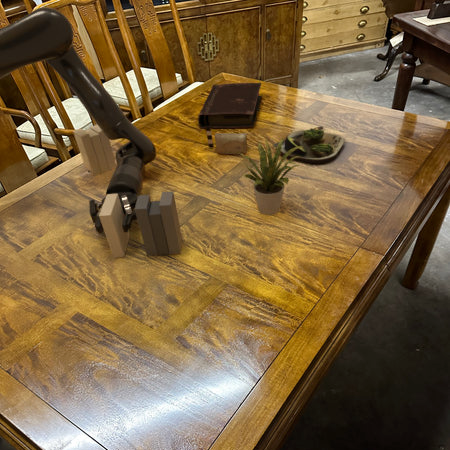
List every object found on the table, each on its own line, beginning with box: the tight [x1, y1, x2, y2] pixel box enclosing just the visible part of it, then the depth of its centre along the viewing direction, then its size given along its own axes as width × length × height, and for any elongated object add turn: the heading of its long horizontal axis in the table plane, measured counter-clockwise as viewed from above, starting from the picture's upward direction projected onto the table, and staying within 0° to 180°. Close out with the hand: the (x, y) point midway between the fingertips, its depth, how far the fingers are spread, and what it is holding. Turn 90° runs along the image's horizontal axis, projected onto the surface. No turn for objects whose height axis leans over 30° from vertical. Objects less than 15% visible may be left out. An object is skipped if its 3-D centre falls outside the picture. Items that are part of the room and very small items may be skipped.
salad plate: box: [272, 125, 345, 165], centre depth 118 cm, size 19×18×5 cm
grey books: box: [134, 190, 183, 257], centre depth 88 cm, size 5×7×12 cm
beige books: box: [72, 124, 117, 177], centre depth 116 cm, size 5×7×12 cm
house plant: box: [237, 137, 303, 216], centre depth 94 cm, size 14×14×16 cm
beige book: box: [99, 194, 131, 259], centre depth 90 cm, size 8×2×11 cm, turn 0°
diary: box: [197, 82, 262, 129], centre depth 139 cm, size 19×25×5 cm
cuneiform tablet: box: [204, 126, 248, 155], centre depth 119 cm, size 7×4×12 cm
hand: (112, 229), depth 88 cm, fingers open, 5 cm apart
